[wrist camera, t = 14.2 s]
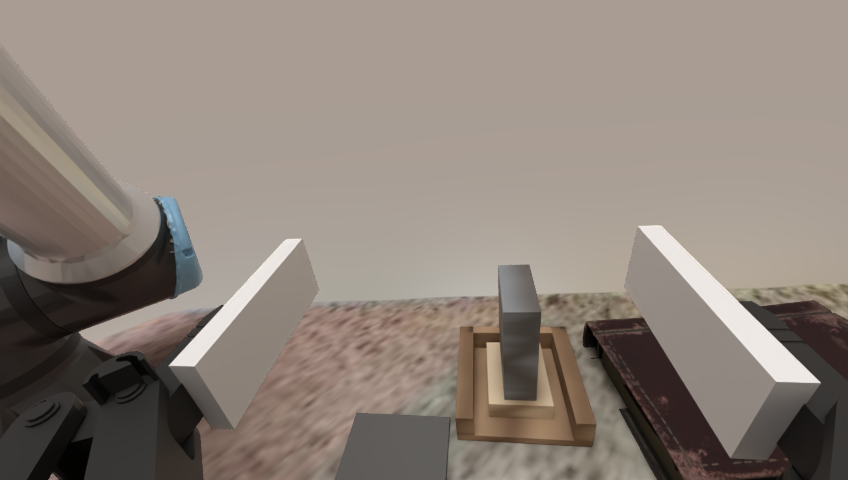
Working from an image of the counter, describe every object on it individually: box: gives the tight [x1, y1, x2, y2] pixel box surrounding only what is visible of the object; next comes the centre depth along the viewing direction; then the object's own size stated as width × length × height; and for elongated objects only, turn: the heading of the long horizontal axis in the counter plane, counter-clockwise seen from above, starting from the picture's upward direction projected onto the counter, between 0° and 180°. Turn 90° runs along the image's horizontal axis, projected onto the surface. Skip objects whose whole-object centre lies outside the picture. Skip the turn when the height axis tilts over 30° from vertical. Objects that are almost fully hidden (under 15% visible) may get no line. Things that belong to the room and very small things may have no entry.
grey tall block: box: [486, 265, 554, 420], centre depth 34 cm, size 6×8×13 cm
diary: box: [583, 300, 848, 480], centre depth 32 cm, size 19×25×5 cm
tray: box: [455, 327, 596, 447], centre depth 37 cm, size 12×12×3 cm
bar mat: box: [335, 413, 450, 480], centre depth 32 cm, size 10×10×1 cm
